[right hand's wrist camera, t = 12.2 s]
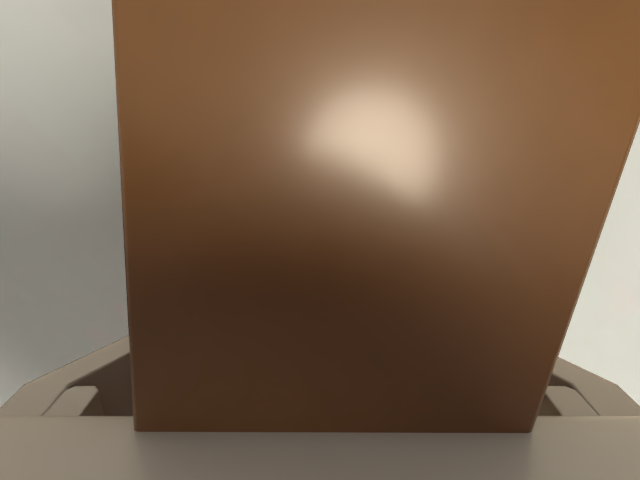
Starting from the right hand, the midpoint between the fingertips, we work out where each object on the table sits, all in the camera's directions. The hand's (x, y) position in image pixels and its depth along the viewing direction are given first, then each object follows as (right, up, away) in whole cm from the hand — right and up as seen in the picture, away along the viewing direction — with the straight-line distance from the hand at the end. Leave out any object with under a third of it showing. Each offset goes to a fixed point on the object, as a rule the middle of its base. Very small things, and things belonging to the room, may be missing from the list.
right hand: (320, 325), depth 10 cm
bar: (+1, +8, +1) cm, 8 cm away
